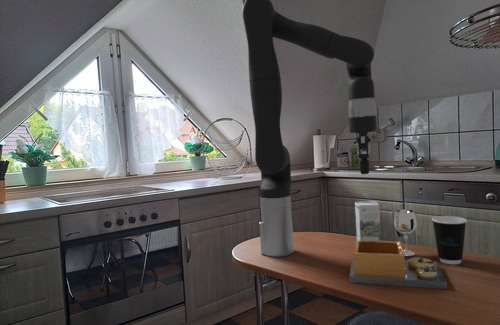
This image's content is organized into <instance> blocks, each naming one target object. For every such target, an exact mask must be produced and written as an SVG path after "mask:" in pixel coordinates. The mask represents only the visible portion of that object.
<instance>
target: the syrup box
mask: <svg viewBox="0 0 500 325" xmlns="http://www.w3.org/2000/svg"><path fill="white" fill-rule="evenodd" d="M380 207H381V206H380V204H379V203H378V202H377V201H375V200H369V201H355V202H354V210H355V211H354V212H355V230H356V231H355V233H356V234H355V235H356V236H355V237H356V241H382V239H381V212H380V209H381V208H380Z"/></svg>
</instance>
